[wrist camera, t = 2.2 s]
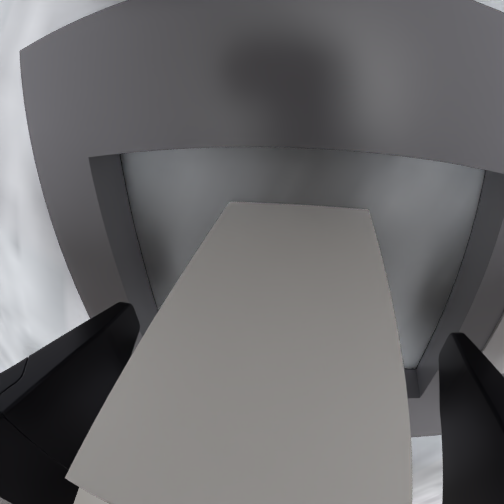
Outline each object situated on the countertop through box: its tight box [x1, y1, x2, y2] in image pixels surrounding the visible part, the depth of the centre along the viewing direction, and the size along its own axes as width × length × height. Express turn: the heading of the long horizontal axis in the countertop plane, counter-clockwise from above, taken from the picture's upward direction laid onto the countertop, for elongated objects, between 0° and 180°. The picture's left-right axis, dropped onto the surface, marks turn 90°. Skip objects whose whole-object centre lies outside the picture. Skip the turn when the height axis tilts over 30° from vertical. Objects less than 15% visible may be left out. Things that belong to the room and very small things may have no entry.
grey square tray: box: [20, 0, 504, 437], centre depth 8 cm, size 17×22×2 cm
